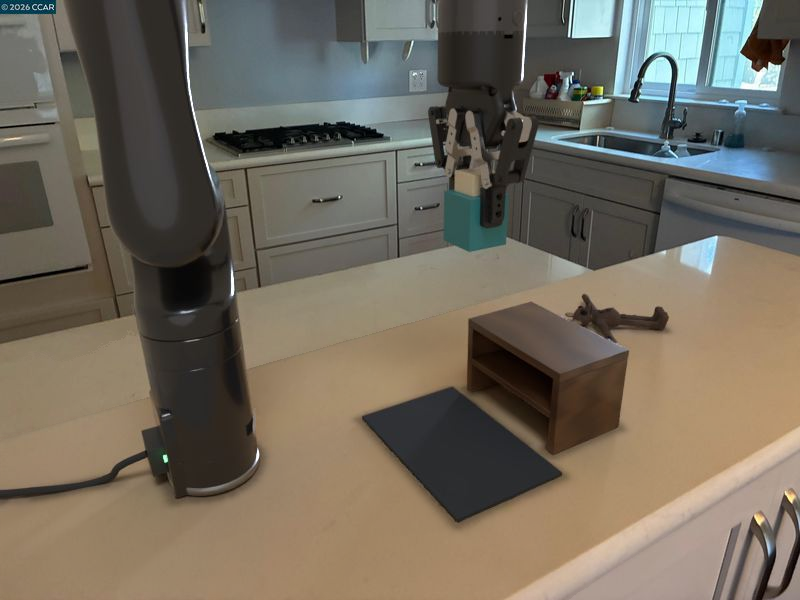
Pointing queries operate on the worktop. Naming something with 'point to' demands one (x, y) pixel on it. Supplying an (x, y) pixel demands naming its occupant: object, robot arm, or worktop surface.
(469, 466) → the mat
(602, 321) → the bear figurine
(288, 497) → the worktop surface
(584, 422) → the shelf
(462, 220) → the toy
